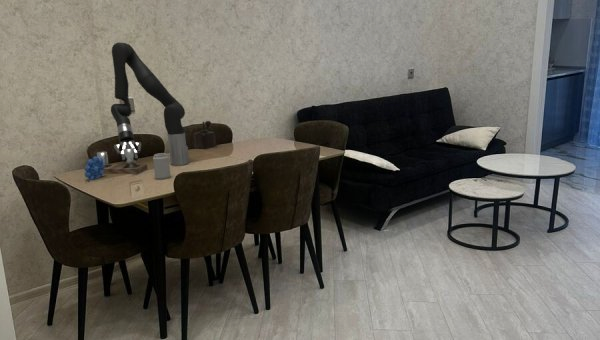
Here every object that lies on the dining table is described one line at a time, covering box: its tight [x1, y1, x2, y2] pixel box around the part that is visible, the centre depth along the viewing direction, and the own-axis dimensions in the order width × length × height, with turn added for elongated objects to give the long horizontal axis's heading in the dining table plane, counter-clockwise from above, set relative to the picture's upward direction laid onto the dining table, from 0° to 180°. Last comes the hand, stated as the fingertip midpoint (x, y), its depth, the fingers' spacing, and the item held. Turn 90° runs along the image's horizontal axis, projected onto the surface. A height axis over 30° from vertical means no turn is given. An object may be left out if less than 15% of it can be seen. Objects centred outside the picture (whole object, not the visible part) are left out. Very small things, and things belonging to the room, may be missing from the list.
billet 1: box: [96, 151, 110, 168], centre depth 270 cm, size 5×5×10 cm
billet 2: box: [124, 148, 137, 168], centre depth 266 cm, size 5×5×10 cm
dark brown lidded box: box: [192, 120, 217, 150], centre depth 327 cm, size 16×11×18 cm
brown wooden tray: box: [102, 163, 149, 176], centre depth 269 cm, size 28×11×4 cm, turn 78°
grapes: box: [84, 155, 105, 181], centre depth 255 cm, size 12×7×12 cm, turn 146°
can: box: [152, 152, 171, 180], centre depth 254 cm, size 8×8×12 cm
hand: (130, 160), depth 265 cm, fingers closed on billet 2, 5 cm apart
